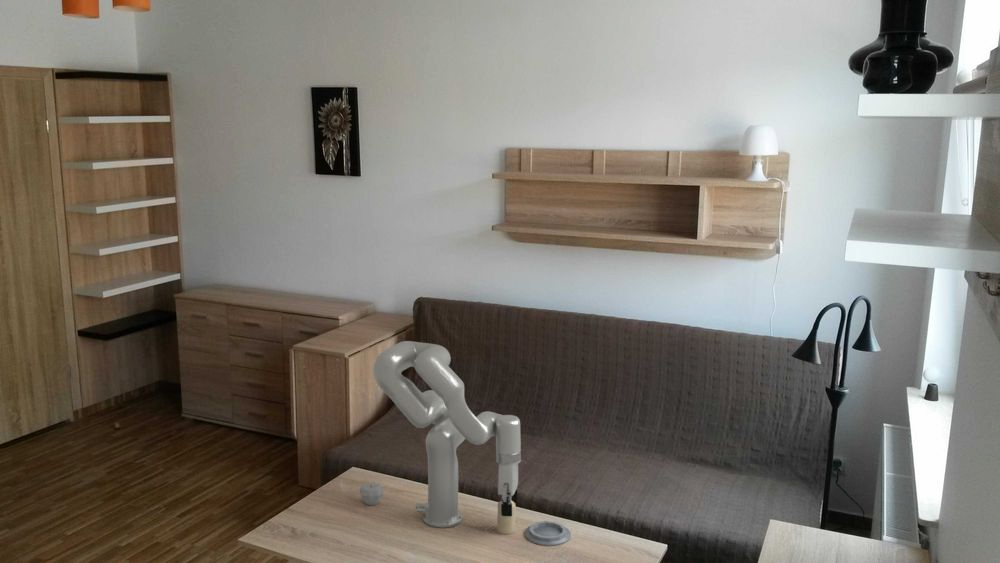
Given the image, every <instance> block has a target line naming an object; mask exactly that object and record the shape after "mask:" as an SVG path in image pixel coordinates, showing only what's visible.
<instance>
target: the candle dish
mask: <svg viewBox="0 0 1000 563" xmlns="http://www.w3.org/2000/svg"><path fill="white" fill-rule="evenodd" d="M524 536H525V538H526V539H527V540H528V541H529V542H531V543H532V544H535V545H539V546H545V547H555V546H560V545H563V544H565V543H567V542H569V541H570V540H571V530H569V528H567V527H566V526H564V525H563V524H561V523H559V522H556V521H552V520H541V521H536V522H534V523H533V524H530V525H529V526H527V527H526V528H525V531H524Z"/></svg>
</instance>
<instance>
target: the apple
mask: <svg viewBox="0 0 1000 563" xmlns="http://www.w3.org/2000/svg"><path fill="white" fill-rule="evenodd" d="M359 493H360V497H361V499H362V501H363V503H364V504H365V505H367V506H374V505H377V504H378V503H380V501H381V499H382V497H383V494H384V489H383V487H382V485H381V483H379V482H375V481H374V482H372V481H371V482H365V483H364V484H362V485H361V486H360V488H359Z"/></svg>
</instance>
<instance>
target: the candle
mask: <svg viewBox="0 0 1000 563" xmlns="http://www.w3.org/2000/svg"><path fill="white" fill-rule="evenodd" d="M508 499H509V498H508ZM501 501H502V499H500V501H499V502H498V503H497V516H496V518H497V521H496V522H497V526H496V528H497V532H498V533H499V534H501V535H511V534H514V533H515V531H516V503H514V502H513V501H512V500H511V503H512V516H511V517H510V516H502V515H501Z"/></svg>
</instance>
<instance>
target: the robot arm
mask: <svg viewBox="0 0 1000 563" xmlns="http://www.w3.org/2000/svg"><path fill="white" fill-rule="evenodd" d="M451 359H452V358H451V354H450V352H449V350H448V349H447V348H446V347H444V346H442V345H441V344H435V343H430V342H429V343H427V342H421V341H419V342H418V341H414V340H404V341H403V340H402V341H400V342H398V343H397V344H394V345H391V346H390V347H388V348H386V349H384V350H383V351H382V352H381V353H379V355H378V356H377V357H376V358H375V361H374V364H373V377H374V381H375V382H376V384H377V385H378V387H379V388H380V389H381V390H382V391H383V393H384V394H385V395H386V396H388V398H389V399H391V401H392V402H393V403H394V404H395V406H396V407H397V408H398V410H400V412H401V413H402V414H403V415H404V417H406V418H407V420H408V421H409V423H411V424H412V426H415V428H418V429H424V428H427V427H428V426H430V425H431V424H433V425H434V426H433V427H432V428H431V429H430V430H429V431H428V433H427V435H426V437H425V449H426V454H427V497H428V499H427V502H425V503H421V502H416V503H415V506H414V508H415V510H416V512H417V513H423V516H422V520H423V522H424V523H425V524H426V525H427V526H430V527H434V528H442V529H444V528H452V527H455V526H457V525H460V524H461V522H462V521H463V519H464V518H463V517H464V515H463V513H462V512H461V510H459V461H458V460H459V459H458V455H457V449H458V447H459V446H460V445H461V444H462V443H463V442H464V441H465V440H466V441H468V442H469V443H471V444H473V445H476V446H481V445H484V444H485V443H486V442H488V441H489V439H490V438H492V437H495V452H496V453H495V454H496V455H495V456H496V458H495V459H496V460H495V461H496V463H497V464H498V471H497V472H498V474H497V494H498V496H501V500H502V501H501V500H500V501H501V515H502V516H510V517H511V516H512V503H511V500H512V501H513V502H514V503H515V504H517V503H518V496H519V495H518V485H519V463H521V462H522V453H521V452H522V450H521V447H522V445H521V444H522V443H521V442H522V441H521V440H522V439H521V438H522V437H521V420H520V418H519V417H518V416H516V415H513V414H504V415H503V414H499V413H496V412H493V411H490V410H489V411H488V410H487V411H483V412H480V413H479V414H478V415H477V416H476V415H475V414H474V413H473V411H472V410H471V409H470V408H469V406H468V405H467V402H466V399H465V398H466V397H465V383H464V381H462V379H461V378H460V377H459V376H458V375H457V374H456V373H455V371H453V370H452V368H451V367H450V363H451ZM411 367H412V368H414V369H415V371H416V373H417V374H418V375H419V377H420V378H422V380H423V381H424V383H426V384H427V385H428V387H430V388H431V390H430V389H428V390H426V391H423V392H422V391H421V390H420V389H419V388H418V387H417V386H416V385H415V383H414V382H413V381H412V380H410V379H409V378H407V377H406V376H404V375H403V374H402V373H403V371H405V370H407V369H409V368H411ZM508 498H509V499H508Z"/></svg>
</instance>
